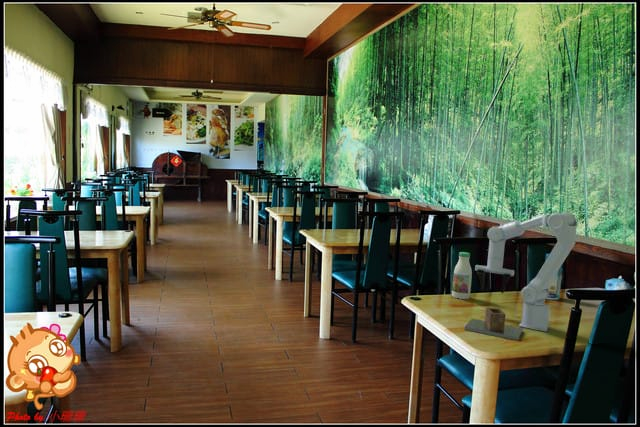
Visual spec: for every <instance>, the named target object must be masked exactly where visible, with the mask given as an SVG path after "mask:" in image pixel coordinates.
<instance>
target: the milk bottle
mask: <svg viewBox="0 0 640 427" xmlns="http://www.w3.org/2000/svg"><path fill="white" fill-rule="evenodd" d="M470 257H471V253H470V252H466V251H460V252H458V261H457V263H456V265H455V267H454V270H453V279H452V286H451V287H452V288H451V297H452V296H453V297H452V298H454V299H457V298H459V299H458V300H469V299H470V297H471V287H472V276H473V275H472V274H473V272H472V271H473V270H472V267H471V264H470Z"/></svg>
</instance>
